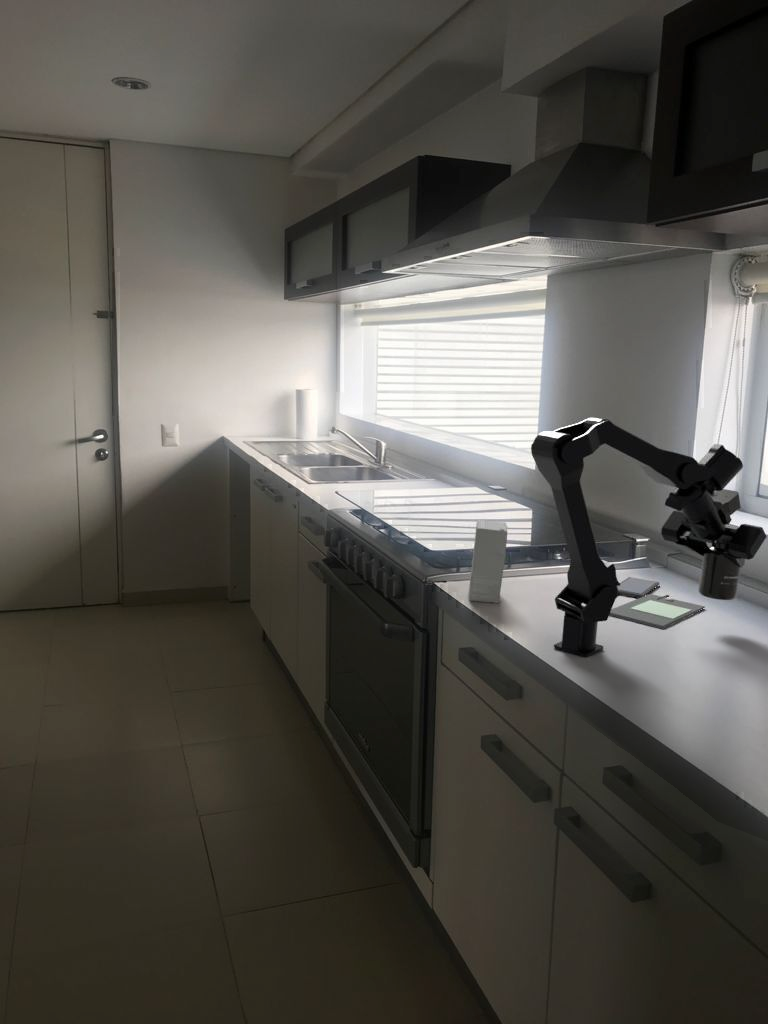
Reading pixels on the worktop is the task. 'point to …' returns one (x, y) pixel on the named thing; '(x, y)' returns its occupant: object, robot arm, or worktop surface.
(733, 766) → the worktop surface
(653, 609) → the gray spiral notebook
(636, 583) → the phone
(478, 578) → the skincare box
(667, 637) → the worktop surface
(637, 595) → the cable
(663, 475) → the robot arm
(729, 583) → the supplement bottle
